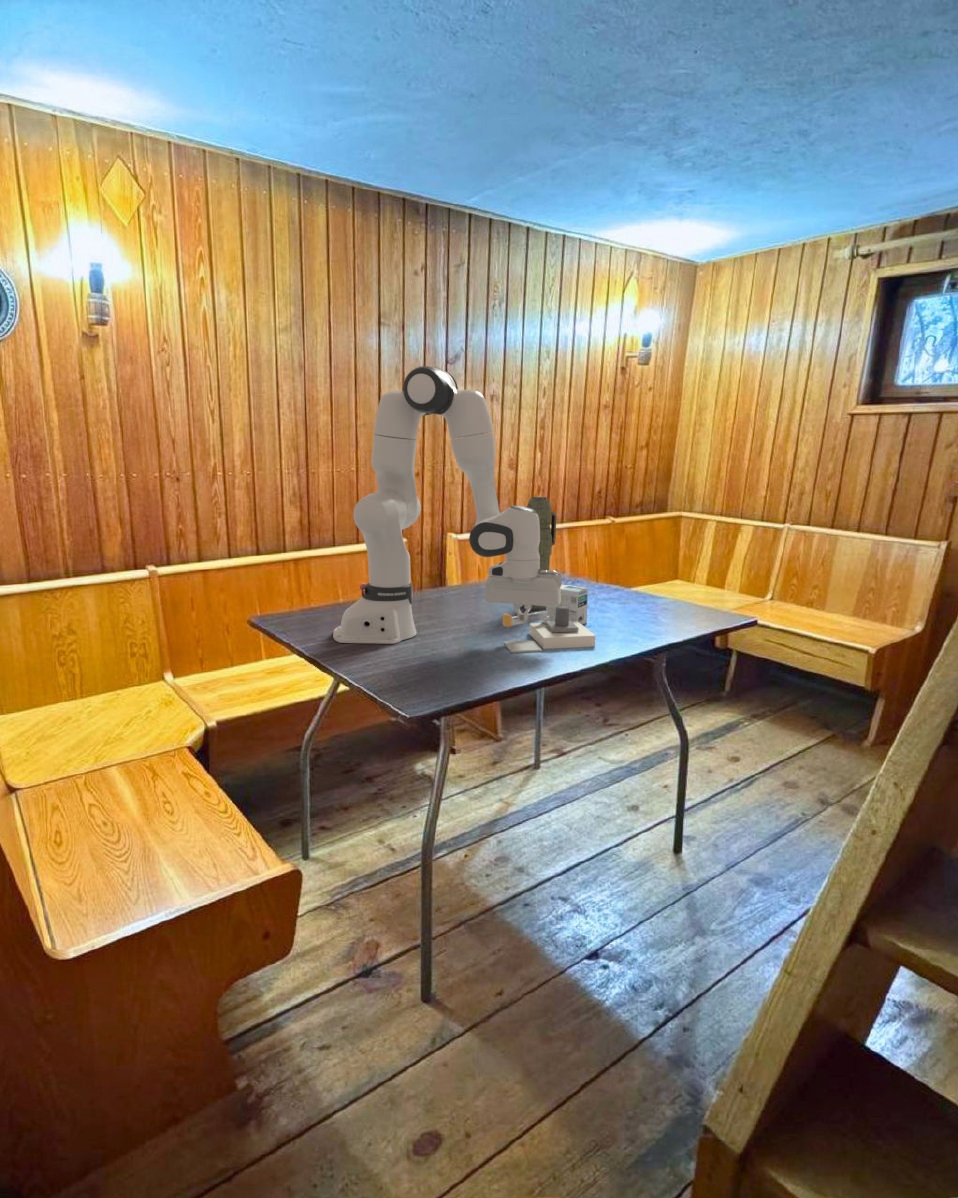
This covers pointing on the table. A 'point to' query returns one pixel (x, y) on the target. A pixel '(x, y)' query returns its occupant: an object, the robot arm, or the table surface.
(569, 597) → the light bulb box
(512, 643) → the mat
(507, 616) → the ball-tipped lever rod
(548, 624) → the plug
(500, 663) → the table surface
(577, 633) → the socket
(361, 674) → the table surface
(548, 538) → the thermos
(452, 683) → the table surface
